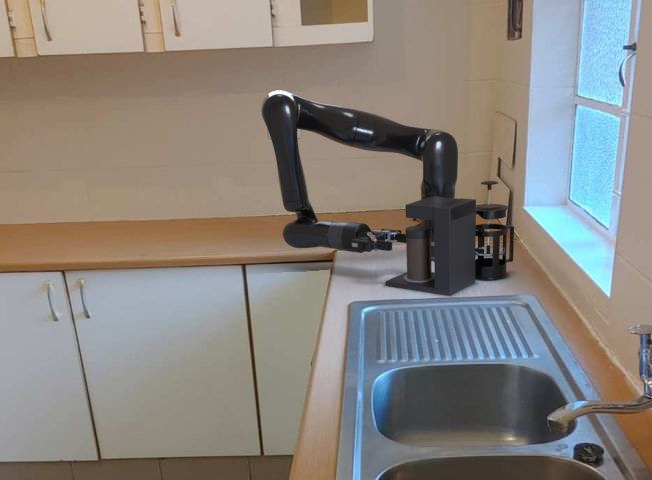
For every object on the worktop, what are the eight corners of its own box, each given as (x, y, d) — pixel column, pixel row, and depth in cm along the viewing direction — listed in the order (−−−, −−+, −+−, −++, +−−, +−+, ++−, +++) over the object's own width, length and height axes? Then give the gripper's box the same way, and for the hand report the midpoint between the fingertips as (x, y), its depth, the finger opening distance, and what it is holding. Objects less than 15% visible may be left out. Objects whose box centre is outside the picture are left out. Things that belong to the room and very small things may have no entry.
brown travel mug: (411, 272, 188) (410, 225, 183) (435, 274, 186) (434, 225, 181) (403, 279, 183) (401, 230, 178) (427, 280, 180) (426, 231, 176)
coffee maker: (385, 285, 184) (382, 203, 176) (412, 273, 193) (411, 194, 185) (449, 295, 173) (449, 208, 166) (475, 282, 182) (476, 199, 174)
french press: (475, 282, 182) (476, 186, 173) (460, 273, 190) (460, 180, 181) (520, 276, 184) (523, 181, 175) (503, 267, 193) (505, 176, 184)
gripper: (331, 227, 187) (384, 233, 178) (364, 216, 197) (417, 221, 188) (332, 257, 190) (385, 264, 181) (366, 245, 200) (417, 251, 191)
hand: (401, 242), depth 184 cm, fingers open, 8 cm apart
